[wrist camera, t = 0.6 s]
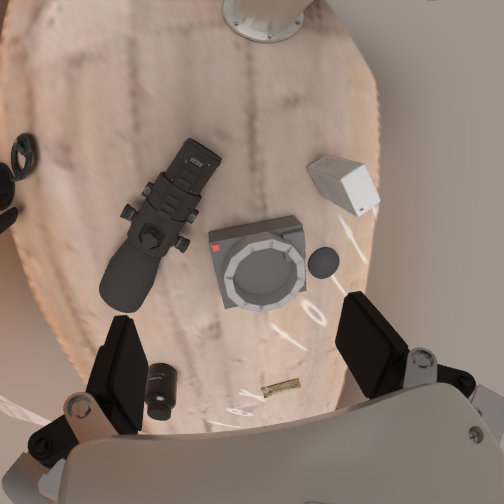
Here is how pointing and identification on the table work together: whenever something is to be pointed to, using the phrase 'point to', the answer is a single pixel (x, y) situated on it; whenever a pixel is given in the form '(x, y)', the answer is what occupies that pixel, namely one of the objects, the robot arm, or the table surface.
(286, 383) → the snack bar
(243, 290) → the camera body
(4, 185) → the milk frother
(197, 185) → the rifle scope
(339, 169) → the skincare box
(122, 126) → the table surface
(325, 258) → the lens cap
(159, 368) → the supplement bottle
